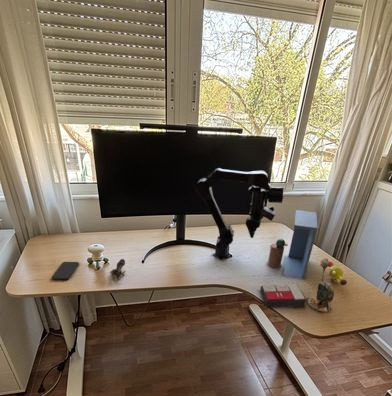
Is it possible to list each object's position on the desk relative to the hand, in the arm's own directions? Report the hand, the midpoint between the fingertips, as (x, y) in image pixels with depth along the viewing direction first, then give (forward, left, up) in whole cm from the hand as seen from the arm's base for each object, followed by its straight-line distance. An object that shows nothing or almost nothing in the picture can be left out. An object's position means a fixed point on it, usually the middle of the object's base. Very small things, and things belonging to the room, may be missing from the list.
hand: (253, 234), depth 139 cm
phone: (-78, +37, -13) cm, 87 cm away
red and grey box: (-15, -32, -13) cm, 38 cm away
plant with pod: (-7, -44, -13) cm, 46 cm away
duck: (+5, -11, -13) cm, 18 cm away
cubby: (+12, -18, -13) cm, 25 cm away
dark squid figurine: (-60, +21, -13) cm, 65 cm away
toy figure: (+15, -36, -13) cm, 42 cm away
